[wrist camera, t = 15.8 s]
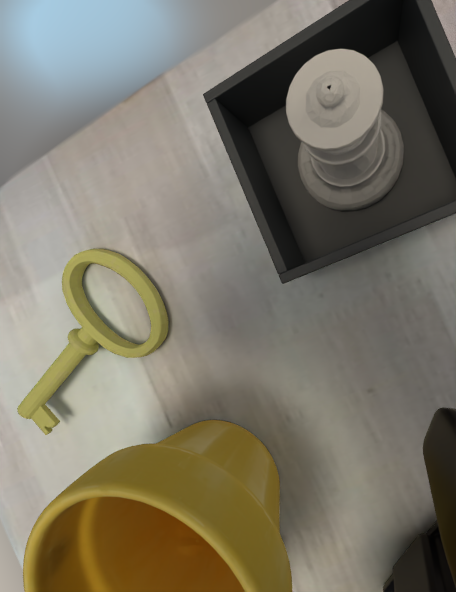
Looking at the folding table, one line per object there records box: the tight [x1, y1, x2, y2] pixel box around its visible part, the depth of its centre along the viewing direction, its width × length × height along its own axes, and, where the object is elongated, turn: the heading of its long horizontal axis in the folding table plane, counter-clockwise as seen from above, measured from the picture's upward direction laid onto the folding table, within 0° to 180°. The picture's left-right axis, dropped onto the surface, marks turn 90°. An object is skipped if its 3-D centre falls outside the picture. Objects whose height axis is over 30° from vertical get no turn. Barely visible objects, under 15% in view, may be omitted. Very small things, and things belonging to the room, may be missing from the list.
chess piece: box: [286, 49, 404, 211], centre depth 14 cm, size 4×4×10 cm
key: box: [18, 249, 169, 435], centre depth 24 cm, size 7×12×2 cm, turn 157°
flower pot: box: [23, 420, 292, 592], centre depth 19 cm, size 10×10×10 cm
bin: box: [203, 0, 456, 284], centre depth 17 cm, size 8×8×5 cm
